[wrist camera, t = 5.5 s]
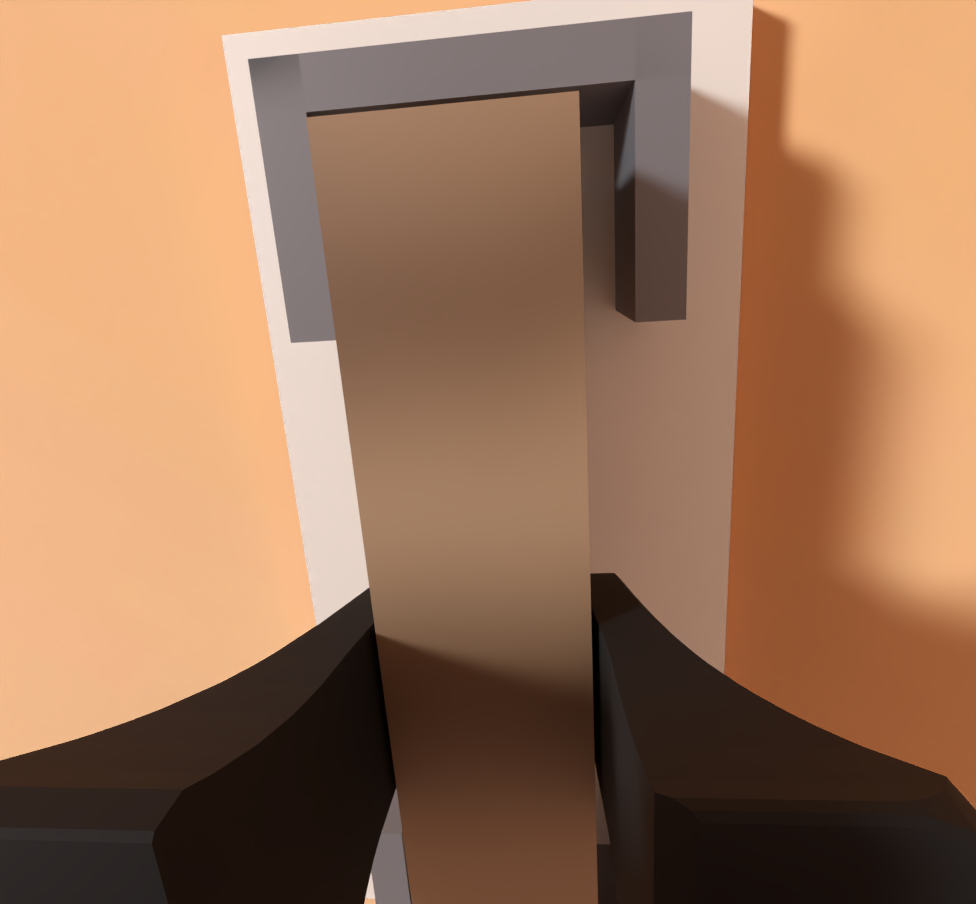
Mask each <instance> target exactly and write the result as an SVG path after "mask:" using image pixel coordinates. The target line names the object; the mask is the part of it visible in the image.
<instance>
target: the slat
mask: <svg viewBox="0 0 976 904" xmlns="http://www.w3.org/2000/svg"><path fill="white" fill-rule="evenodd" d="M306 123H307V130H308V137H309V145H310V152H311V160H312V167H313V174H314V182H315V189H316V197H317V204H318V211H319V219H320V226H321V234H322V241H323V248H324V256H325V263H326V271H327V278H328V285H329V293H330V300H331V307H332V315H333V322H334V330H335V337H336V344H337V352H338V359H339V367H340V374H341V381H342V389H343V396H344V404H345V411H346V418H347V426H348V433H349V441H350V448H351V455H352V463H353V470H354V478H355V485H356V492H357V500H358V507H359V515H360V522H361V529H362V537H363V544H364V552H365V559H366V566H367V574H368V581H369V588H370V596H371V603H372V611H373V618H374V625H375V633H376V640H377V648H378V655H379V662H380V670H381V677H382V685H383V692H384V699H385V707H386V714H387V722H388V729H389V736H390V744H391V751H392V759H393V766H394V773H395V781H396V788H397V796H398V803H399V810H400V818H401V825H402V833H403V840H404V847H405V855H406V862H407V869H408V877H409V884H410V892H411V899H412V904H598V882H597V839H596V796H595V753H594V710H593V667H592V625H591V582H590V539H589V496H588V453H587V410H586V367H585V324H584V282H583V239H582V196H581V153H580V110H579V91H572V92H562V93H551V94H541V95H531V96H521V97H510V98H500V99H490V100H480V101H469V102H459V103H449V104H439V105H428V106H418V107H408V108H398V109H387V110H377V111H367V112H357V113H347V114H336V115H326V116H316V117H306Z"/></svg>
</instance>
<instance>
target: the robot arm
mask: <svg viewBox="0 0 976 904" xmlns="http://www.w3.org/2000/svg"><path fill="white" fill-rule="evenodd" d="M590 582H591V625H592V667H593V710H594V753H595V766H596V771H597V776H598V781H599V787H600V792H601V797H602V802H603V807H604V813H605V818H606V823H607V828H608V833H609V839H610V846H611V852H612V859H613V866H614V875H615V885H616V896H617V904H976V810H975V809H974V807H973V806H972V805H971V804H970V803H969V802H968V801H967V800H966V798H965V797H964V796H963V795H962V794H961V793H960V792H959V791H958V789H957V788H956V787H955V786H954V785H953V784H952V783H951V782H950V781H949V780H948V778H947V777H945V776H943V775H940V774H937V773H934V772H932V771H929V770H926V769H923V768H920V767H918V766H915V765H912V764H909V763H906V762H904V761H901V760H898V759H895V758H893V757H890V756H887V755H884V754H881V753H879V752H876V751H873V750H870V749H867V748H865V747H862V746H860V745H858V744H855V743H853V742H851V741H848V740H846V739H844V738H841V737H839V736H837V735H835V734H832V733H830V732H828V731H826V730H823V729H821V728H819V727H817V726H814V725H812V724H810V723H808V722H806V721H804V720H802V719H800V718H798V717H796V716H794V715H792V714H790V713H788V712H786V711H784V710H783V709H781V708H779V707H777V706H775V705H774V704H772V703H770V702H768V701H766V700H765V699H763V698H761V697H759V696H757V695H756V694H754V693H752V692H751V691H749V690H747V689H746V688H744V687H742V686H741V685H739V684H738V683H736V682H735V681H733V680H732V679H730V678H729V677H727V676H726V675H724V674H723V673H721V672H720V671H719V670H717V669H716V668H714V667H713V666H711V665H710V664H708V663H707V662H706V661H704V660H703V659H702V658H700V657H699V656H698V655H697V654H695V653H694V652H693V651H692V650H690V649H689V648H688V647H687V646H686V645H684V644H683V643H682V642H681V641H680V640H679V639H677V638H676V637H675V636H674V635H673V634H672V633H671V632H670V631H669V630H668V629H667V628H666V627H665V626H664V625H662V624H661V623H660V622H659V621H658V620H657V619H656V618H655V617H654V616H653V615H652V614H651V613H650V612H649V610H648V609H647V608H646V607H645V606H644V605H643V604H642V603H641V602H640V601H639V600H638V599H637V597H636V596H635V595H634V594H633V593H632V592H631V591H630V589H629V588H628V587H627V586H626V585H625V583H624V582H623V581H622V580H621V579H620V578H619V577H618V576H617V575H616V574H615V573H590ZM395 790H396V781H395V773H394V766H393V759H392V751H391V744H390V736H389V729H388V722H387V714H386V707H385V699H384V692H383V685H382V677H381V670H380V662H379V655H378V648H377V640H376V633H375V625H374V618H373V611H372V603H371V596H370V588H368V589H366V590H365V591H364V592H362V593H361V594H360V595H358V596H357V597H355V598H354V599H353V600H351V601H350V602H349V603H347V604H346V605H345V606H343V607H342V608H340V609H339V610H338V611H336V612H335V613H334V614H332V615H331V616H329V617H328V618H327V619H325V620H324V621H323V622H321V623H320V624H318V625H317V626H315V627H314V628H312V629H311V630H309V631H308V632H306V633H305V634H303V635H302V636H300V637H299V638H297V639H296V640H294V641H293V642H291V643H290V644H288V645H287V646H285V647H283V648H282V649H280V650H279V651H277V652H276V653H274V654H272V655H271V656H269V657H267V658H266V659H264V660H262V661H260V662H259V663H257V664H255V665H253V666H252V667H250V668H248V669H246V670H244V671H242V672H240V673H238V674H236V675H235V676H233V677H231V678H229V679H227V680H225V681H223V682H221V683H219V684H217V685H215V686H212V687H210V688H208V689H206V690H203V691H201V692H199V693H197V694H194V695H192V696H190V697H188V698H185V699H183V700H181V701H179V702H176V703H174V704H172V705H170V706H167V707H165V708H163V709H160V710H158V711H155V712H153V713H150V714H147V715H145V716H142V717H139V718H137V719H134V720H132V721H129V722H126V723H123V724H120V725H118V726H115V727H112V728H109V729H106V730H103V731H100V732H97V733H94V734H91V735H88V736H85V737H82V738H79V739H75V740H72V741H69V742H65V743H62V744H58V745H55V746H51V747H48V748H44V749H40V750H37V751H33V752H30V753H26V754H22V755H19V756H15V757H12V758H8V759H5V760H1V761H0V904H364V901H365V897H366V892H367V888H368V883H369V879H370V874H371V870H372V865H373V861H374V857H375V854H376V850H377V846H378V843H379V839H380V836H381V832H382V829H383V826H384V823H385V820H386V817H387V814H388V811H389V808H390V805H391V802H392V799H393V796H394V793H395Z"/></svg>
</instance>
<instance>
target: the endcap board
mask: <svg viewBox="0 0 976 904" xmlns="http://www.w3.org/2000/svg"><path fill="white" fill-rule="evenodd" d="M752 17H753V0H533V1H524V2H515V3H506V4H497V5H488V6H480V7H471V8H462V9H453V10H444V11H435V12H426V13H417V14H408V15H399V16H391V17H382V18H373V19H364V20H355V21H346V22H337V23H328V24H319V25H310V26H302V27H293V28H284V29H275V30H266V31H257V32H248V33H239V34H230V35H222V41H223V47H224V54H225V60H226V66H227V72H228V79H229V85H230V91H231V97H232V103H233V110H234V116H235V122H236V128H237V135H238V141H239V147H240V153H241V160H242V166H243V172H244V178H245V184H246V191H247V197H248V203H249V209H250V216H251V222H252V228H253V234H254V241H255V247H256V253H257V259H258V265H259V272H260V278H261V284H262V290H263V297H264V303H265V309H266V315H267V322H268V328H269V334H270V340H271V346H272V353H273V359H274V365H275V371H276V378H277V384H278V390H279V396H280V403H281V409H282V415H283V421H284V427H285V434H286V440H287V446H288V452H289V459H290V465H291V471H292V477H293V483H294V490H295V496H296V502H297V508H298V515H299V521H300V527H301V533H302V540H303V546H304V552H305V558H306V564H307V571H308V577H309V583H310V589H311V596H312V602H313V608H314V614H315V621H316V626H317V625H318V624H320V623H321V622H323V621H324V620H325V619H327V618H328V617H329V616H331V615H332V614H334V613H335V612H336V611H338V610H339V609H340V608H342V607H343V606H345V605H346V604H347V603H349V602H350V601H351V600H353V599H354V598H355V597H357V596H358V595H360V594H361V593H362V592H364V591H365V590H366V589H368V588H369V581H368V574H367V566H366V559H365V552H364V544H363V537H362V529H361V522H360V515H359V507H358V500H357V492H356V485H355V478H354V470H353V463H352V455H351V448H350V441H349V433H348V426H347V418H346V411H345V404H344V396H343V389H342V381H341V374H340V367H339V359H338V352H337V344H336V337H335V330H334V322H333V315H332V307H331V300H330V293H329V285H328V278H327V271H326V263H325V256H324V248H323V241H322V234H321V226H320V219H319V211H318V204H317V197H316V189H315V182H314V174H313V167H312V160H311V152H310V145H309V137H308V130H307V123H306V117H316V116H326V115H336V114H347V113H357V112H367V111H377V110H387V109H398V108H408V107H418V106H428V105H439V104H449V103H459V102H469V101H480V100H490V99H500V98H510V97H521V96H531V95H541V94H551V93H562V92H572V91H579V110H580V153H581V196H582V239H583V282H584V324H585V367H586V410H587V453H588V496H589V539H590V573H615V574H616V575H617V576H618V577H619V578H620V579H621V580H622V581H623V582H624V583H625V585H626V586H627V587H628V588H629V589H630V591H631V592H632V593H633V594H634V595H635V596H636V597H637V599H638V600H639V601H640V602H641V603H642V604H643V605H644V606H645V607H646V608H647V609H648V610H649V612H650V613H651V614H652V615H653V616H654V617H655V618H656V619H657V620H658V621H659V622H660V623H661V624H662V625H664V626H665V627H666V628H667V629H668V630H669V631H670V632H671V633H672V634H673V635H674V636H675V637H676V638H677V639H679V640H680V641H681V642H682V643H683V644H684V645H686V646H687V647H688V648H689V649H690V650H692V651H693V652H694V653H695V654H697V655H698V656H699V657H700V658H702V659H703V660H704V661H706V662H707V663H708V664H710V665H711V666H713V667H714V668H716V669H717V670H719V671H720V672H721V673H723V674H724V666H725V643H726V620H727V596H728V573H729V550H730V527H731V504H732V481H733V457H734V434H735V411H736V388H737V365H738V341H739V318H740V295H741V272H742V249H743V225H744V202H745V179H746V156H747V133H748V110H749V86H750V63H751V40H752ZM595 796H596V839H597V882H598V904H617V896H616V885H615V875H614V866H613V859H612V852H611V846H610V839H609V833H608V828H607V823H606V818H605V813H604V807H603V802H602V797H601V792H600V787H599V781H598V776H597V771H596V766H595ZM365 898H373V899H375V900H376V904H412V899H411V892H410V884H409V877H408V869H407V862H406V855H405V847H404V840H403V833H402V825H401V818H400V810H399V803H398V796H397V788H396V790H395V793H394V796H393V799H392V802H391V805H390V808H389V811H388V814H387V817H386V820H385V823H384V826H383V829H382V832H381V836H380V839H379V843H378V846H377V850H376V854H375V857H374V861H373V865H372V870H371V874H370V879H369V883H368V888H367V892H366V897H365Z"/></svg>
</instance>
